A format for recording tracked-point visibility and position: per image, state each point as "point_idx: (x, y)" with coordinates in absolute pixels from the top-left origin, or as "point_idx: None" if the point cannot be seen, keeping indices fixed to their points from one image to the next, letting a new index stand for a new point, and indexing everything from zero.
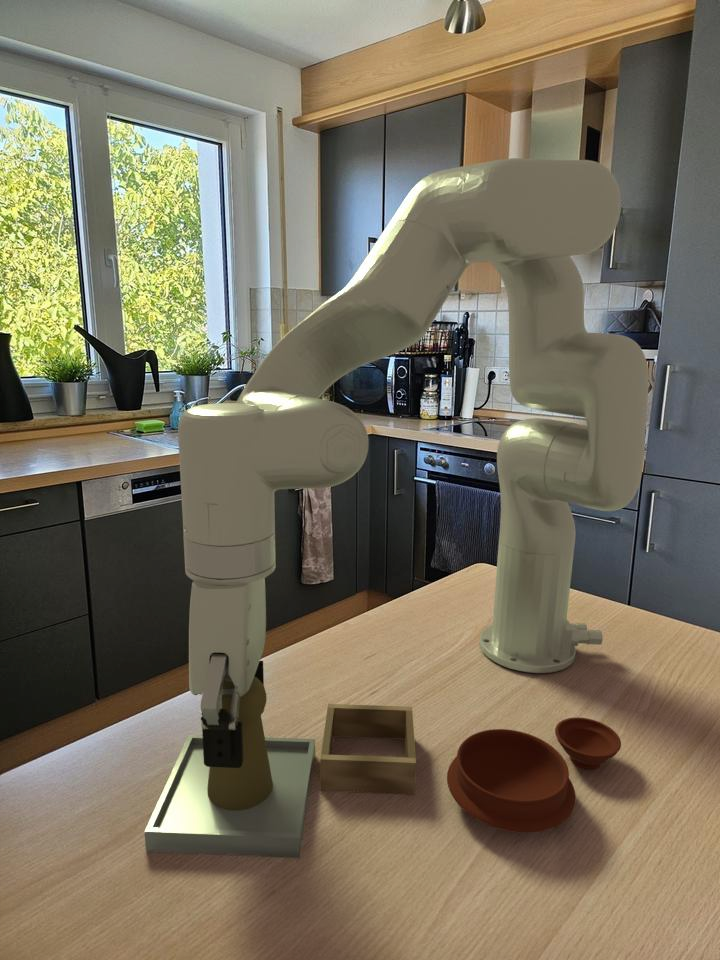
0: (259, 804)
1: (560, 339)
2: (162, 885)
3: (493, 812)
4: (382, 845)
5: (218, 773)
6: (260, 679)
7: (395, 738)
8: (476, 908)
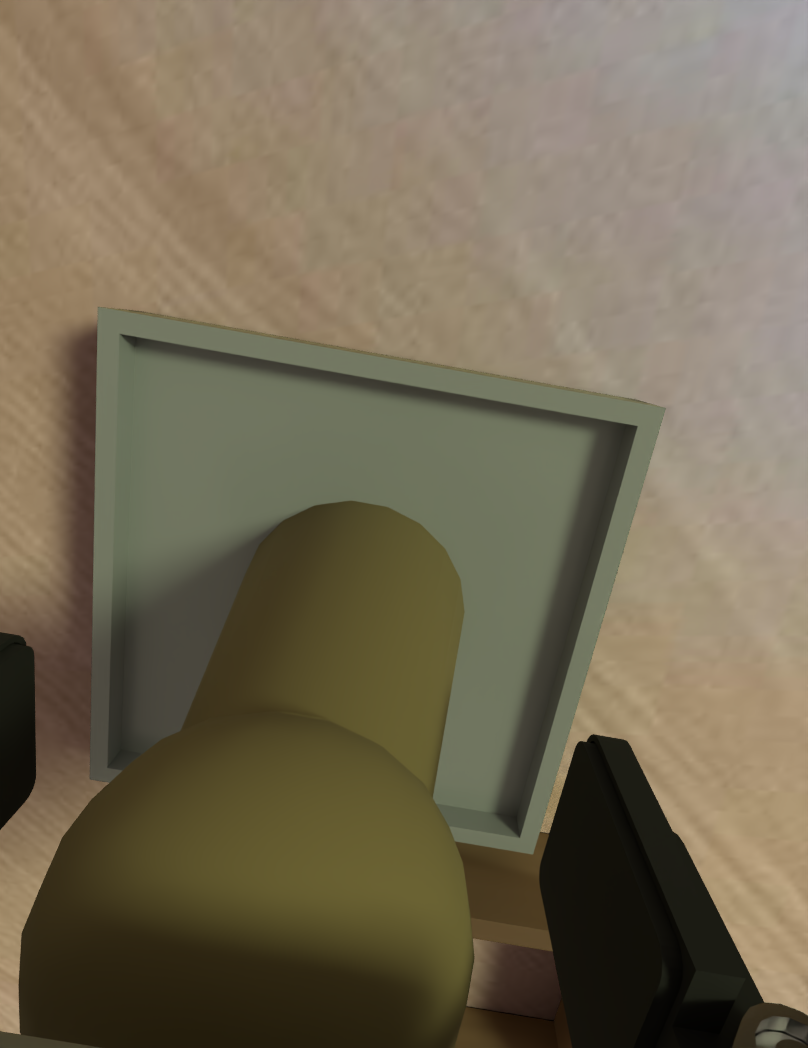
0: None
1: None
2: (17, 385)
3: None
4: None
5: (242, 594)
6: (566, 1009)
7: (561, 1003)
8: (10, 1022)
